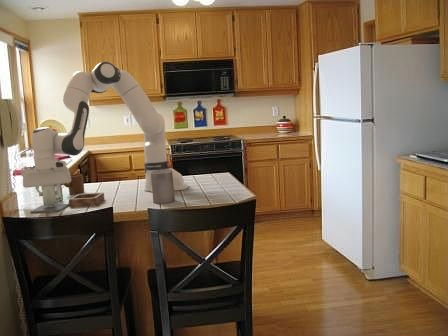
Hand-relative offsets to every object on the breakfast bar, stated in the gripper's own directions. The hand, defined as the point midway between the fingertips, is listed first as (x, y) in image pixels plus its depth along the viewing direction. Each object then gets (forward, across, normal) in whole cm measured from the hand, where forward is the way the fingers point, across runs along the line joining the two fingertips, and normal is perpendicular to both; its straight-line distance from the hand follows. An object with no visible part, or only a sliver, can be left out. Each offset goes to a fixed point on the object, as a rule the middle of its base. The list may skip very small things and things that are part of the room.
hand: (49, 195), depth 220 cm
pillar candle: (+7, +48, -15) cm, 51 cm away
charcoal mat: (+6, 0, 0) cm, 6 cm away
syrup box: (+7, +2, +20) cm, 21 cm away
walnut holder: (+6, +16, +3) cm, 17 cm away
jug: (+4, 0, 0) cm, 4 cm away
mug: (+7, +11, +33) cm, 36 cm away
